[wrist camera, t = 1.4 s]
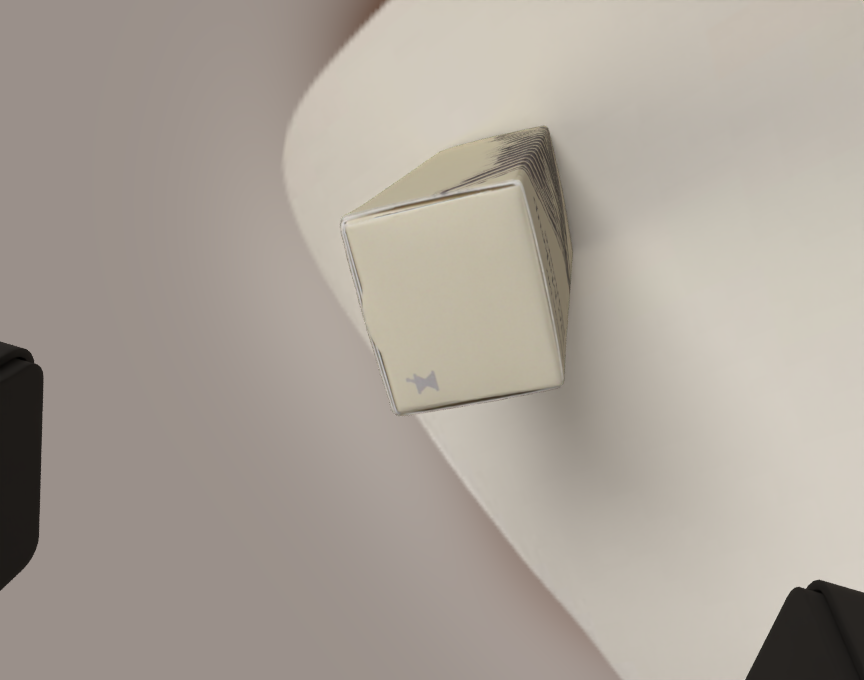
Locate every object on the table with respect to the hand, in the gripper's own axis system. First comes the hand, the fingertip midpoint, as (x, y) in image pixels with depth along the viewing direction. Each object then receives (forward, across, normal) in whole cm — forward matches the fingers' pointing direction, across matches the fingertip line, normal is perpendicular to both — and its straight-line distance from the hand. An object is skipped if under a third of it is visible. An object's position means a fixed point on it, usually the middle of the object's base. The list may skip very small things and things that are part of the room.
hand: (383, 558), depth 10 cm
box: (+22, +1, 0) cm, 22 cm away
